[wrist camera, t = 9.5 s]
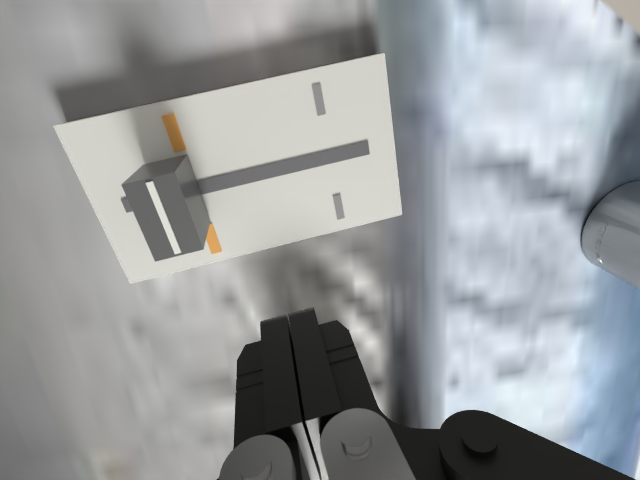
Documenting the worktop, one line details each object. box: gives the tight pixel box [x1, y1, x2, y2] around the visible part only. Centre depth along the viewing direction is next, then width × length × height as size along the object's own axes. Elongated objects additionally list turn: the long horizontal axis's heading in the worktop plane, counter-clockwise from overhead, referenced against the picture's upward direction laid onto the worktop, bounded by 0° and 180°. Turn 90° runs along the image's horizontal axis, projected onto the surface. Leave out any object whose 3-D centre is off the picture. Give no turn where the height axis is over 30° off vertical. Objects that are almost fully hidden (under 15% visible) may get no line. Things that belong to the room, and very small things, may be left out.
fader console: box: [53, 53, 402, 284], centre depth 28 cm, size 22×12×2 cm, turn 101°
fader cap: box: [121, 154, 210, 262], centre depth 25 cm, size 3×5×5 cm, turn 11°
